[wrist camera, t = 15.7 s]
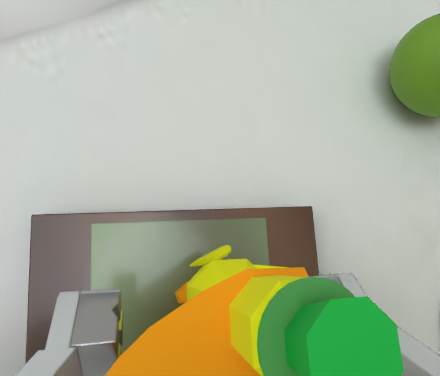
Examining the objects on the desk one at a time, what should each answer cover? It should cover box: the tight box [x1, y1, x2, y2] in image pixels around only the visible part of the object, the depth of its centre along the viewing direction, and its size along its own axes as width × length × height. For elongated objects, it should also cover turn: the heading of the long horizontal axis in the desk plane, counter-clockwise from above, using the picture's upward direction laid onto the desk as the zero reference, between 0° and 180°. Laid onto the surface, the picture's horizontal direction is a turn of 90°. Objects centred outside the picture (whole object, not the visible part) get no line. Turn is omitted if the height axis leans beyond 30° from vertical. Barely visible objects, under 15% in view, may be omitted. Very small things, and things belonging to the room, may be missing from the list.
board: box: [26, 206, 319, 363], centre depth 17 cm, size 13×14×2 cm
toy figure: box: [105, 245, 404, 376], centre depth 11 cm, size 7×4×12 cm, turn 116°
